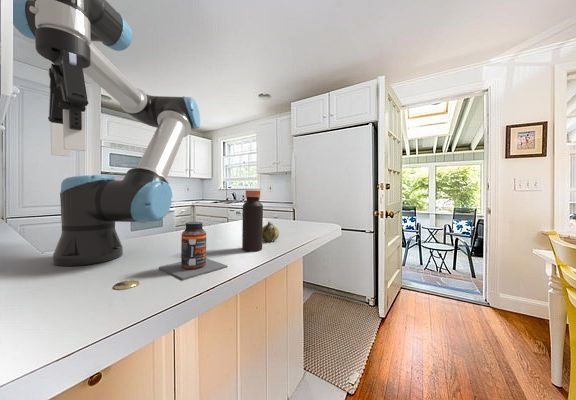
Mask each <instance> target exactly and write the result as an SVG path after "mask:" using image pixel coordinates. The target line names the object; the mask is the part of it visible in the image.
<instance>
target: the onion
mask: <svg viewBox="0 0 576 400" xmlns="http://www.w3.org/2000/svg"><path fill="white" fill-rule="evenodd" d="M279 236H280V230H279V228H278V227H277V226H276V225H275V224H274V223H273V222H271V221H267V224H266V225H263V234H262V241H265V242H268V241H269V242H273V241H272V240H275V241H276V240H278V238H279Z"/></svg>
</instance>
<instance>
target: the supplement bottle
mask: <svg viewBox="0 0 576 400" xmlns="http://www.w3.org/2000/svg"><path fill="white" fill-rule="evenodd" d="M203 227H204V225H203V222H202V221H186V223H185V230H183V231H182V232H181V237H180V239H181V242H180V243H181V246H180V248H181V250H180V251H181V253H180V254H181V255H180V257H181V258H180V262H181V266H182V267H183V268H185V269H198V268H201V267H203V266H205V264H206V258H207V231H206V230H204V228H203Z"/></svg>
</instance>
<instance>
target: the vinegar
mask: <svg viewBox="0 0 576 400" xmlns="http://www.w3.org/2000/svg"><path fill="white" fill-rule="evenodd" d="M260 198H261V190H245V199H246V201H245V202H244V203H243V204H242V223H241V224H242V230H241V231H242V233H241V234H242V235H241V236H242V237H241V239H242V242H241V243H242V246H241V248H242V250H243V251H244V250H245V251H244V252H250V251H253V252H259V251H258V250H260V251H262V250H263V239H262V234H263V227H264V225H263V223H264V221H263V220H264V219H263V217H264V215H263V214H264V211H263V210H264V205H263V204H262V203H261V201H260Z"/></svg>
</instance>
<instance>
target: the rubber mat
mask: <svg viewBox="0 0 576 400" xmlns="http://www.w3.org/2000/svg"><path fill="white" fill-rule="evenodd" d="M158 268H159V270H162V271H164V272H166V273H168V274H170V275H171V276H174V277H176V278H178V279H180V280H182V281H185V280H189V279H192V278H195V277H199V276H201V275H206V274H209V273H212V272H216V271H219V270H222V269H223V270H224V269H225V268H226V269H227V268H228V264H224V263H221V262H218V261H215V260H212V259H209V258H207V257H206V264H205V266H203V267H201V268H198V269H185V268H183V267H182V266H181V261H178V262H174V263H170V264H165V265H160V266H158Z"/></svg>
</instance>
